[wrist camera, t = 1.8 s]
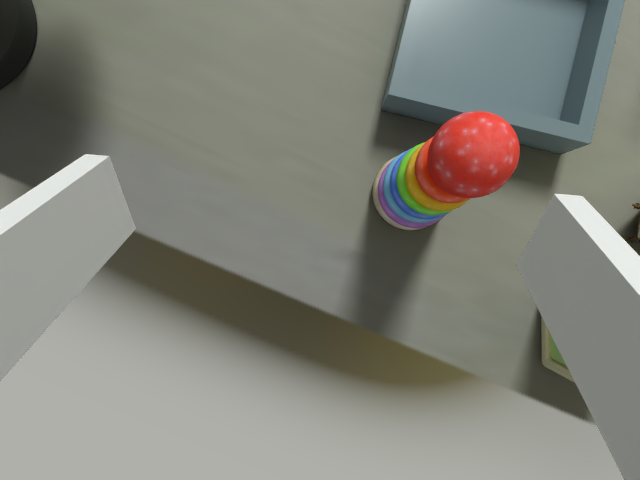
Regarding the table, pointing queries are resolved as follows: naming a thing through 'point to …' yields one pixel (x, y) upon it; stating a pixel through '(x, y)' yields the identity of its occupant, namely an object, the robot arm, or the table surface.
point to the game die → (639, 230)
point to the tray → (506, 65)
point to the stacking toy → (446, 170)
